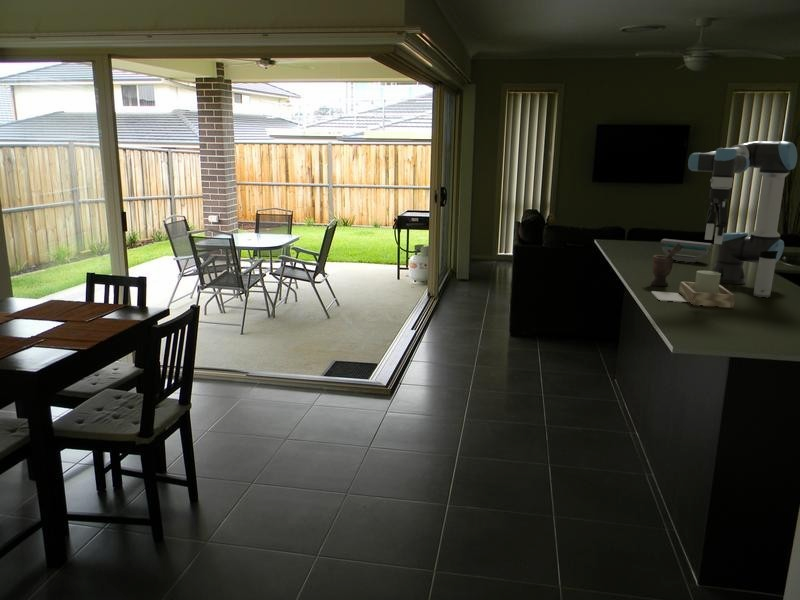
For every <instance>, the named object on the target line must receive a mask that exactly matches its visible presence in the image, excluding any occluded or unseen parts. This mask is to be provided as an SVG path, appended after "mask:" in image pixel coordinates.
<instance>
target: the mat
mask: <svg viewBox="0 0 800 600" xmlns="http://www.w3.org/2000/svg"><path fill="white" fill-rule="evenodd" d="M651 294H652V295H653V296H654V297H655V299H656V300H657V299H658V300H660V301H659V302H667V301H673V302H672V303H682V302H688V301H687V300H686V299H685V298H684V297H683V296H681V295H680V294H679V292H670V291H669V292H666V291H655V290H652V291H651ZM658 300H657V301H658ZM688 303H689V302H688Z"/></svg>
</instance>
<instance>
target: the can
mask: <svg viewBox="0 0 800 600" xmlns="http://www.w3.org/2000/svg"><path fill="white" fill-rule="evenodd" d="M720 276H721V273H718V272H714V271H712V270H697V271H696V275H695V288H694V291H695V292H701V293H716V294H718V289H719V285H720Z"/></svg>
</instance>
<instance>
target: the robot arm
mask: <svg viewBox="0 0 800 600" xmlns="http://www.w3.org/2000/svg"><path fill="white" fill-rule="evenodd" d="M687 162H688V163H687V166H688V170H690V171H691V172H696V173H697V172H705V173H707V172H709V173H712V175H711V178H710V179H709V181H710V187H711V188H710V189H709V194H708V196H709V198H711V199H710V202H709V203H710V204H709V207H708V210H707V214H706V218H705V222H706V227H705V234H704V241H705V240H707V241H708V240H709V241H713V240H714V241H713V244H714V245H718V246H717V253H716V262H715V265H714V266H713V268H712V269H711V271H714V272H718V273H721V276H720V282H719V284H721V283H722V284H728V285H729V284H730V285H743V284H745V283H746V275H745V269H744V264H745V263H744V262H748V263H754V264H758V263H759V259H760V258H759V257H760V252H761V251H762V252H764V251H778V253H777V256H776V263H778V261H779V260H780V259H781V256H782V255H783V252H784V249H785V242H784V240H783V239H781V234H780V233H779V232H778V226H779V220H780V214H781V206H782V199H783V194H784V187H785V180H786V179H785V178H786V177H787V176H788V175H789V174H790V172H791V170H793V169H795V168H796V166H797V162H798V151H797V147H796V144H794V143H793V142H791V141H784V140H783V141H782V140H780V141H779V140H778V141H777V140H776V141H770V140H769V141H768V140H767V141H765V140H764V141H761V140H758V141H757V140H755V141H749V142H745V143H744V142H743V143H740V144H735V145H733V146H731V147H724V148H723V147H719V148H716V149H715V150H714V151H709V152H693V153H691V154H690V155H689V157H688V160H687ZM749 168H753V169H754V168H755V169H759V172H758V173H759V174H760V175H761V176H762V179H761V186H760V187H761V188H760V193H759V201H758V209H757V216H756V223H755V230H753V231H752V232H751V233H750V235H749V233H748V232H725V228H726V227H727V225H728V223H727V219H728V210H727V209H728V201H725V200H730V198H731V194H732V193H731V192H732V189H731V188H733V182H734V181H733V180H734V174H741V173H742V174H743V173H744V172H746V171H748V169H749ZM715 220H716V221H715ZM714 229H715V234H714ZM713 235H714V239H713Z"/></svg>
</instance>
